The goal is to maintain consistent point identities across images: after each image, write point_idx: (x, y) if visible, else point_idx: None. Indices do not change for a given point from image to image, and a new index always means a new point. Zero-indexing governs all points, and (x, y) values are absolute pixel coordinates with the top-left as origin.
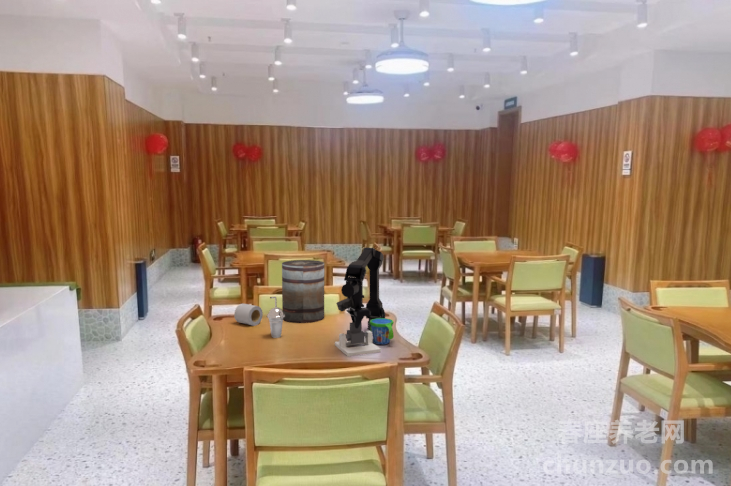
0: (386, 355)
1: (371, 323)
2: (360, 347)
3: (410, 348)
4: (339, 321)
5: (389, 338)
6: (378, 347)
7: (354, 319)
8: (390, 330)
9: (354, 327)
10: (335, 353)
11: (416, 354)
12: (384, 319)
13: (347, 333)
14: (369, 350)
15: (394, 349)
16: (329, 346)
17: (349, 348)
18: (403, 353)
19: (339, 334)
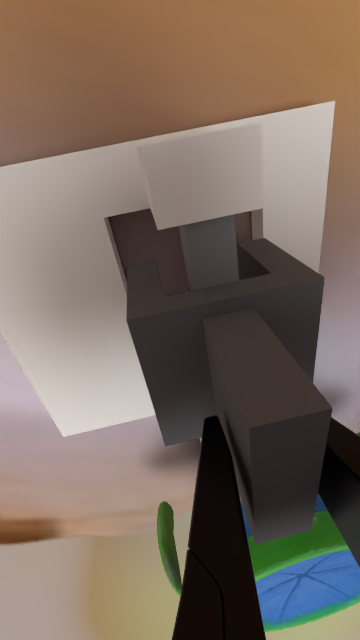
0: (7, 438)
1: (303, 541)
2: (104, 326)
3: (123, 517)
4: None
5: (160, 509)
6: (94, 428)
7: (245, 601)
8: (168, 575)
9: (227, 408)
10: (37, 44)
11: (33, 531)
12: (352, 591)
13: (277, 269)
14: (27, 376)
15: (116, 472)
16: (299, 22)
17: (79, 229)
18: (48, 497)
19: (243, 126)
